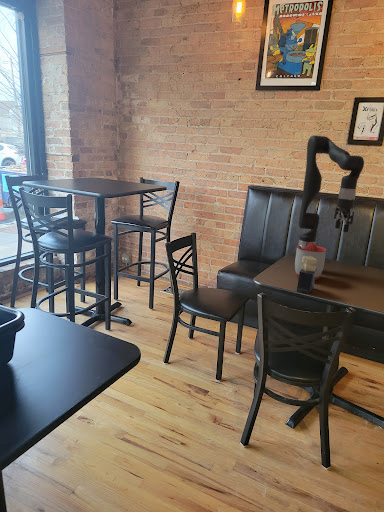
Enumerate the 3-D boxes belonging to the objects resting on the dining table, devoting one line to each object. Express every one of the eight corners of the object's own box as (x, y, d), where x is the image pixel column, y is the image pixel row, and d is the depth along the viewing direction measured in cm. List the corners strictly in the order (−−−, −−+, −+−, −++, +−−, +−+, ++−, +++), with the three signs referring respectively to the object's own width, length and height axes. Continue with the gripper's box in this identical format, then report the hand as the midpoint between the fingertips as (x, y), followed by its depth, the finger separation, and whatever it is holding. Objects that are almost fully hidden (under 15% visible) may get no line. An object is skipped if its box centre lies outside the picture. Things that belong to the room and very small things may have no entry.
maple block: (301, 268, 177) (302, 256, 175) (310, 268, 177) (312, 256, 176) (305, 271, 172) (306, 259, 170) (315, 271, 172) (316, 259, 171)
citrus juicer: (308, 271, 208) (313, 238, 203) (328, 281, 192) (334, 245, 187) (285, 273, 203) (289, 238, 198) (303, 283, 187) (308, 246, 182)
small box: (309, 294, 171) (312, 273, 168) (296, 291, 174) (298, 271, 172) (314, 288, 180) (317, 268, 177) (301, 285, 183) (304, 266, 180)
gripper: (332, 195, 182) (327, 227, 186) (346, 199, 168) (340, 233, 173) (346, 196, 183) (341, 227, 187) (361, 199, 169) (355, 233, 173)
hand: (341, 230), depth 180 cm, fingers open, 8 cm apart
